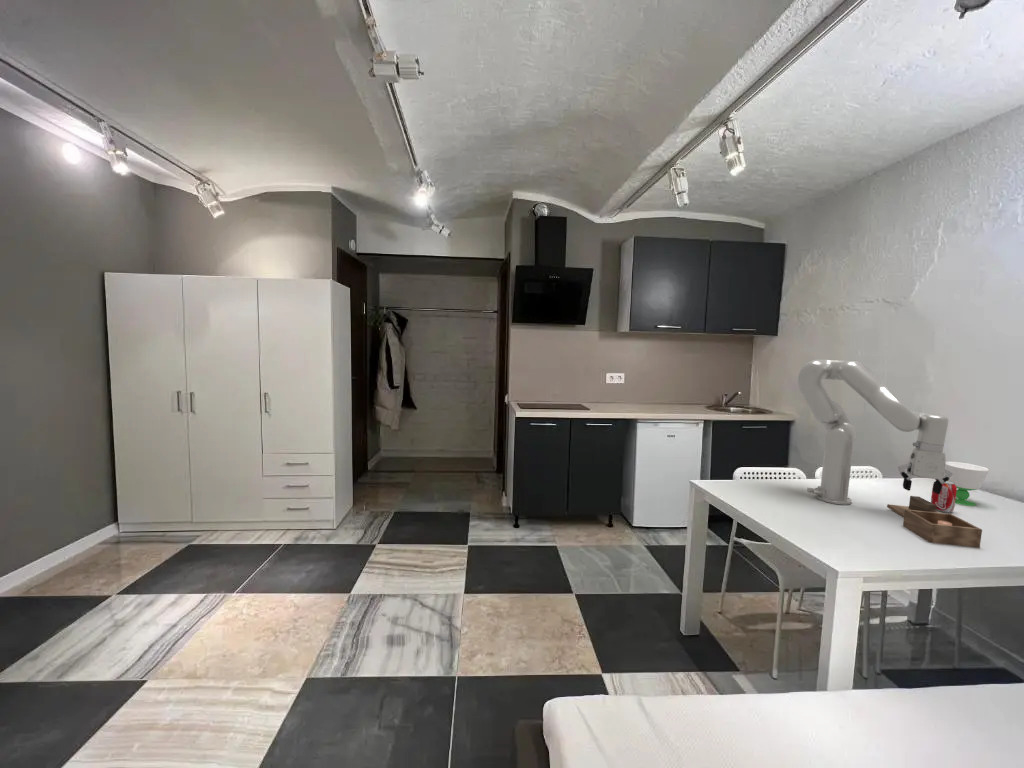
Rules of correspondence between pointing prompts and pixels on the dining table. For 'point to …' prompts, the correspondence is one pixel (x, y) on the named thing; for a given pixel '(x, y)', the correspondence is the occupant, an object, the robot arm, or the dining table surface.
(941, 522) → the terracotta spool
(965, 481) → the white green footed bowl
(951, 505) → the soda can
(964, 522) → the box
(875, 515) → the dining table surface
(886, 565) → the dining table surface
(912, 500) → the lid
